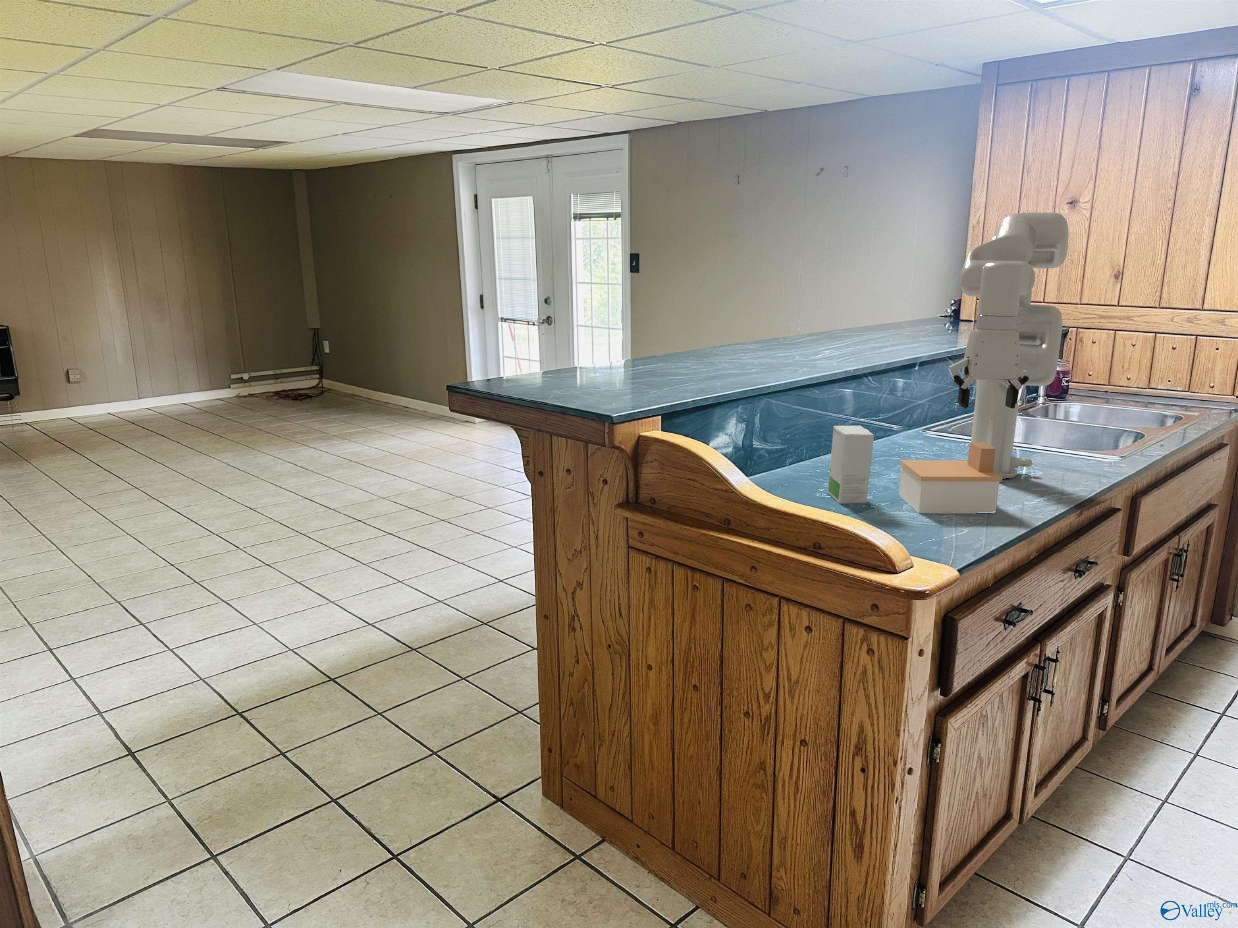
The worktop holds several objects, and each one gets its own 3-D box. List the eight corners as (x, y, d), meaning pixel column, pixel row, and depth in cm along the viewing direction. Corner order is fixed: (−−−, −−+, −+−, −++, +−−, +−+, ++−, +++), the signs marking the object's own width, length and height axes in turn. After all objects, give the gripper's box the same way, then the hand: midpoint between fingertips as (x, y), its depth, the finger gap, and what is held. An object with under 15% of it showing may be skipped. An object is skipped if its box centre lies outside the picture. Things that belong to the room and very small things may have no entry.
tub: (970, 495, 190) (974, 465, 189) (995, 513, 178) (999, 481, 176) (898, 495, 190) (901, 464, 189) (918, 513, 178) (921, 480, 176)
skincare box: (827, 493, 192) (831, 425, 188) (855, 492, 192) (860, 424, 188) (839, 504, 184) (844, 433, 180) (869, 503, 184) (875, 433, 180)
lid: (974, 469, 189) (978, 438, 187) (1001, 486, 176) (1005, 453, 174) (899, 468, 189) (902, 438, 187) (920, 485, 176) (923, 452, 174)
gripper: (1030, 323, 178) (1020, 404, 182) (946, 322, 178) (938, 403, 182) (1047, 326, 171) (1036, 410, 175) (960, 325, 171) (951, 410, 175)
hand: (986, 407), depth 179 cm, fingers open, 9 cm apart
